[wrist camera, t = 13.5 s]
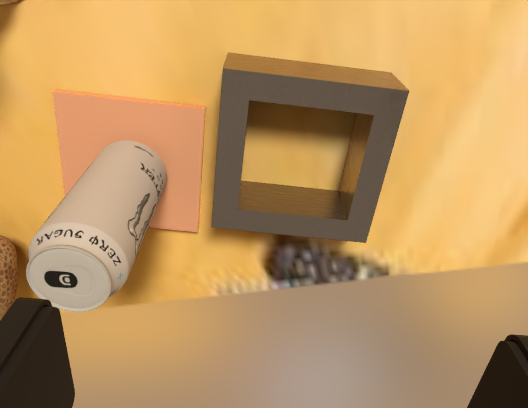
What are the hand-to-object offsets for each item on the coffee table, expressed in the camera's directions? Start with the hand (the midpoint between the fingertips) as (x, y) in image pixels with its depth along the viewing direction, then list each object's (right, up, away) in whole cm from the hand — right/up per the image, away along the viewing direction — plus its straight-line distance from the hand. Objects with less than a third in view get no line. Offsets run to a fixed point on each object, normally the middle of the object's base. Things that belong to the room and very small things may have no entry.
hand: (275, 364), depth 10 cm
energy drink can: (-12, +7, +29) cm, 32 cm away
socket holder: (+3, +9, +29) cm, 30 cm away
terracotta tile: (-12, +7, +30) cm, 33 cm away
